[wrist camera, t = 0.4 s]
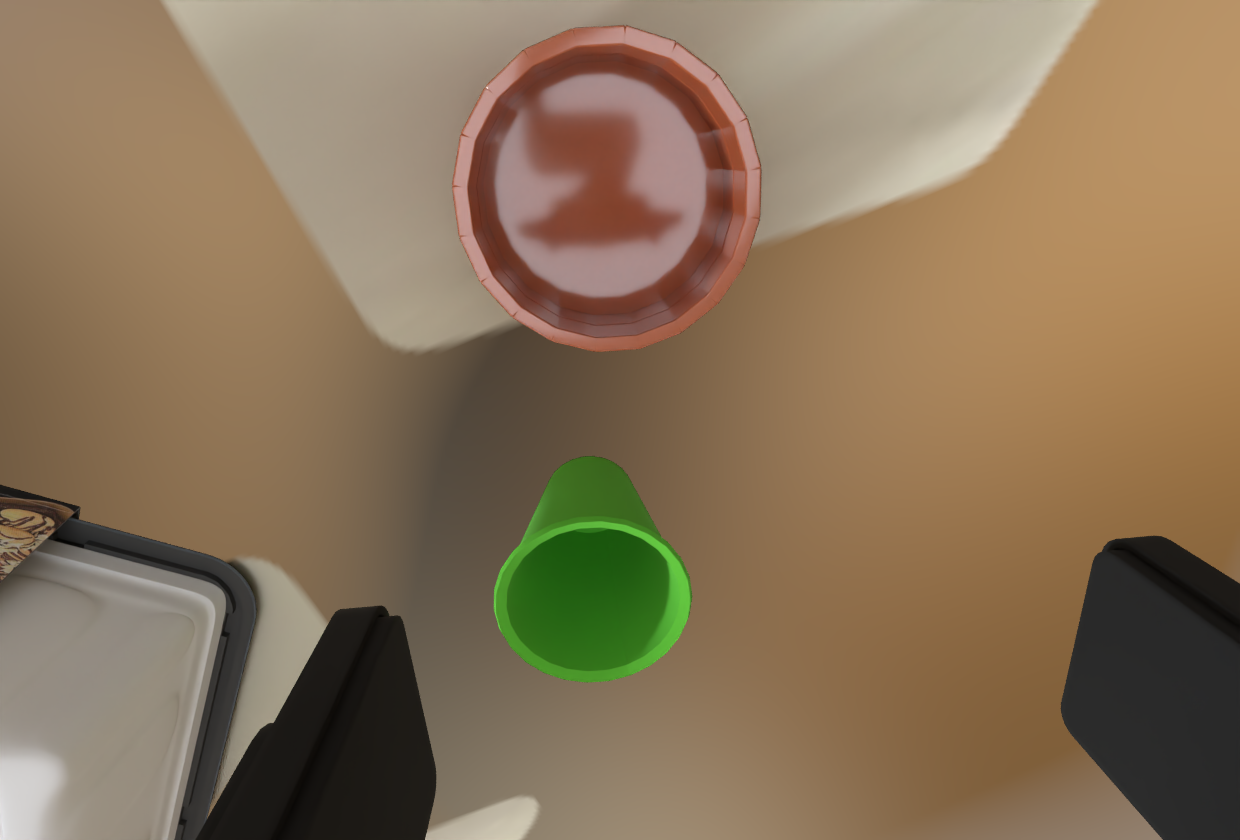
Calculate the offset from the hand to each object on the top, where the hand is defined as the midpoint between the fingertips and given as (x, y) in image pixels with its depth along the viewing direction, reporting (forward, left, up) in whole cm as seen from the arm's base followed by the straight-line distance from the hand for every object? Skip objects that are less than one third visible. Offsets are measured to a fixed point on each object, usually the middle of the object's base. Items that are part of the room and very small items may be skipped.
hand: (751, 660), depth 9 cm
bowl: (-5, -1, -29) cm, 29 cm away
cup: (+12, -3, -29) cm, 32 cm away
